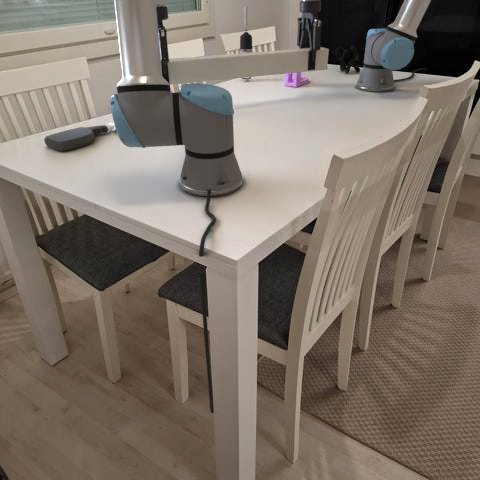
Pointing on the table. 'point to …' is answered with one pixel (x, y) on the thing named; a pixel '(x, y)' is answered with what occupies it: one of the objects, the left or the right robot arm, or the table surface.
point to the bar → (243, 65)
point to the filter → (245, 39)
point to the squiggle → (348, 59)
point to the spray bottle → (76, 137)
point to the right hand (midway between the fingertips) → (307, 68)
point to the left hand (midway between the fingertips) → (163, 81)
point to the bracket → (295, 79)
